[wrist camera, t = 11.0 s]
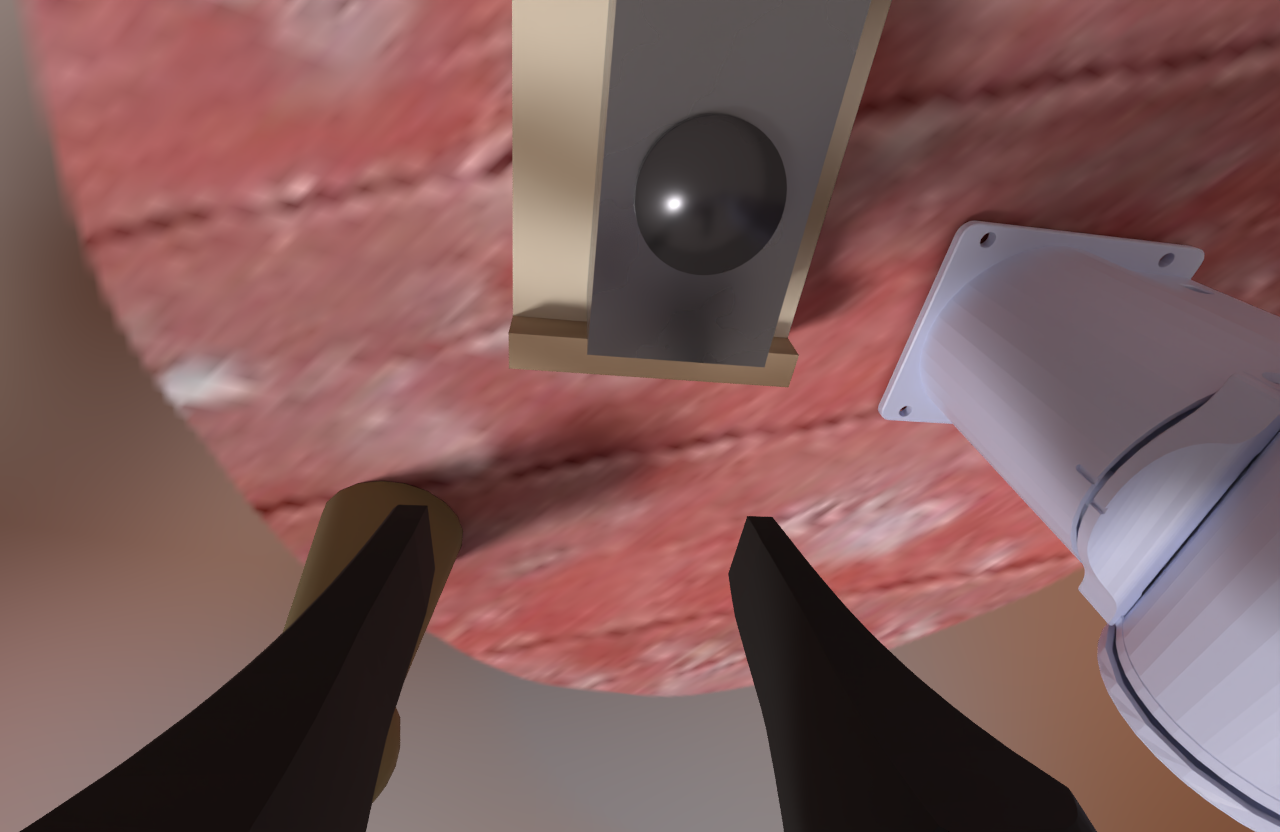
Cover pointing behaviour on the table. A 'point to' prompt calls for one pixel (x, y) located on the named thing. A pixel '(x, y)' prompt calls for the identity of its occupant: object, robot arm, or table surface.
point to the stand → (564, 195)
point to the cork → (344, 536)
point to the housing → (709, 169)
